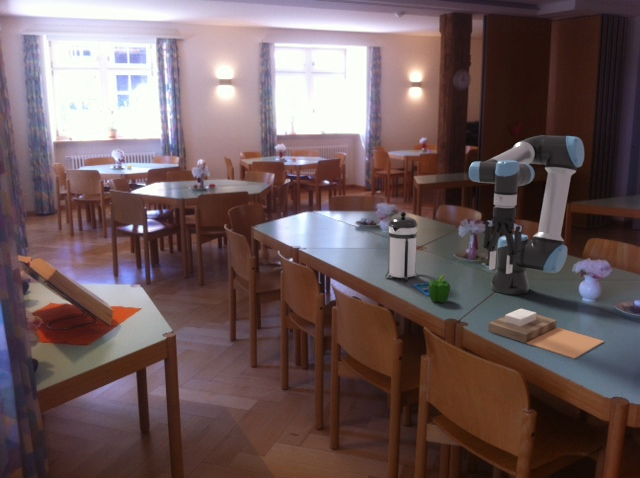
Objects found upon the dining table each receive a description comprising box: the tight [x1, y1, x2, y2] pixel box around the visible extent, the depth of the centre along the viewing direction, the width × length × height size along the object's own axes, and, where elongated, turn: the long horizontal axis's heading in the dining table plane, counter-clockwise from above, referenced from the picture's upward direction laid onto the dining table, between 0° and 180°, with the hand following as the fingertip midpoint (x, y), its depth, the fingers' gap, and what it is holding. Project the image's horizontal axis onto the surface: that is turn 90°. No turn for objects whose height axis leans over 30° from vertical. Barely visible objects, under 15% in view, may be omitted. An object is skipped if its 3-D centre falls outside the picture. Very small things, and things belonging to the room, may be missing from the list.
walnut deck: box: [487, 313, 558, 344], centre depth 205 cm, size 20×14×3 cm
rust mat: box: [526, 327, 605, 360], centre depth 194 cm, size 20×16×1 cm
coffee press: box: [384, 211, 419, 283], centre depth 265 cm, size 17×16×30 cm
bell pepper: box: [428, 275, 451, 303], centre depth 235 cm, size 8×8×10 cm
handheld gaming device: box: [412, 282, 430, 297], centre depth 250 cm, size 8×1×15 cm
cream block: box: [504, 308, 537, 327], centre depth 206 cm, size 10×6×2 cm, turn 131°
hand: (500, 270), depth 209 cm, fingers open, 6 cm apart
